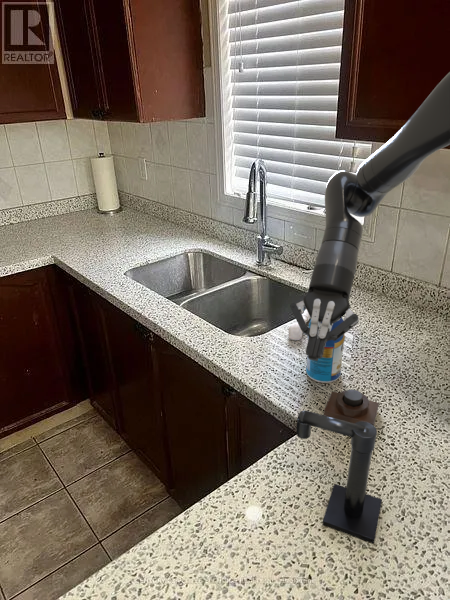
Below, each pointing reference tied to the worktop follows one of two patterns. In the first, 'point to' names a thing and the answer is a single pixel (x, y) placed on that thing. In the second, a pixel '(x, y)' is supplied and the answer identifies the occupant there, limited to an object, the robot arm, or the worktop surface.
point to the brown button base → (351, 409)
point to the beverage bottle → (327, 359)
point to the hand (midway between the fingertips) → (312, 359)
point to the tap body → (354, 502)
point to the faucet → (298, 327)
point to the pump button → (352, 398)
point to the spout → (338, 429)
